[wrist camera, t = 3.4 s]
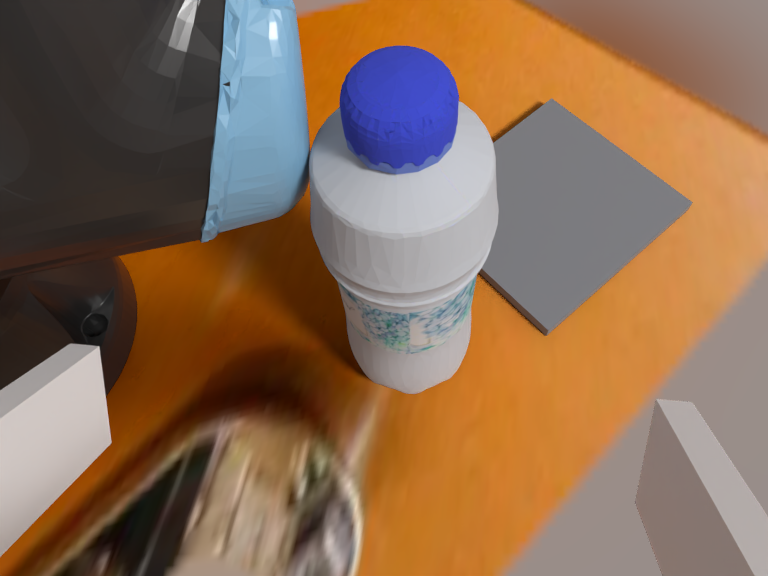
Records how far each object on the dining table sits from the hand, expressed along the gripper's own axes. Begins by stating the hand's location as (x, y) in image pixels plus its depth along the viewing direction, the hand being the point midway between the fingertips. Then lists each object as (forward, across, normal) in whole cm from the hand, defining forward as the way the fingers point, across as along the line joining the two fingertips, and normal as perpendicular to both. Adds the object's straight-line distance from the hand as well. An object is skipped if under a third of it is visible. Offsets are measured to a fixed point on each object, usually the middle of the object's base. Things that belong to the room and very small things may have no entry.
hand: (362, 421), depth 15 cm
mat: (+25, +7, 0) cm, 26 cm away
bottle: (+19, 0, -7) cm, 20 cm away
